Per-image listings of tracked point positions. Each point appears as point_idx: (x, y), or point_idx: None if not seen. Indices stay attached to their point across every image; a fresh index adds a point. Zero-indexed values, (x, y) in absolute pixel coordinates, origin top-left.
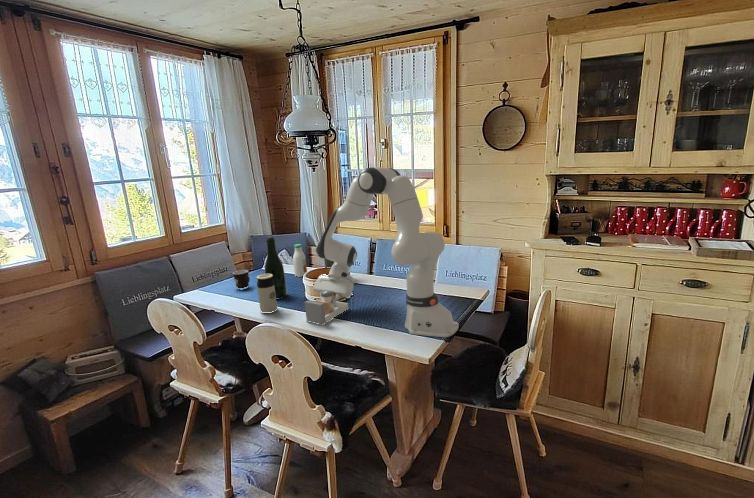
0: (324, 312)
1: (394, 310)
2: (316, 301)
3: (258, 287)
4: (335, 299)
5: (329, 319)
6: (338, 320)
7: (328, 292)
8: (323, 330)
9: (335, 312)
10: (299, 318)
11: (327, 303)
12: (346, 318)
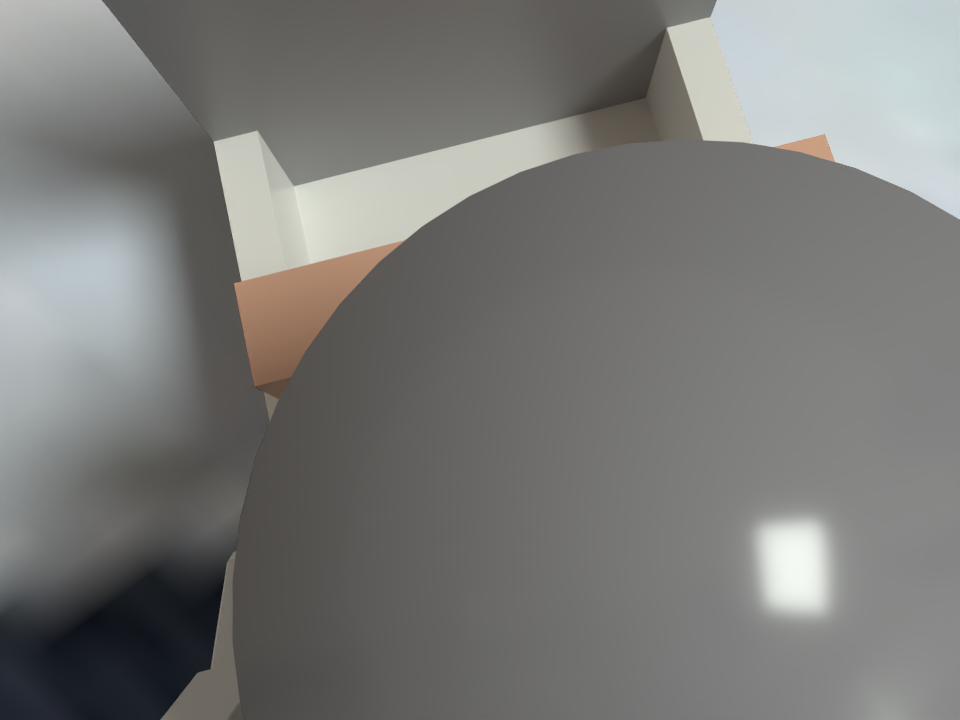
0: (161, 74)
1: None
2: (812, 146)
3: None
4: (208, 710)
5: None
6: (163, 487)
7: (484, 571)
8: (68, 7)
9: None
10: (949, 34)
11: (269, 277)
12: (88, 680)
